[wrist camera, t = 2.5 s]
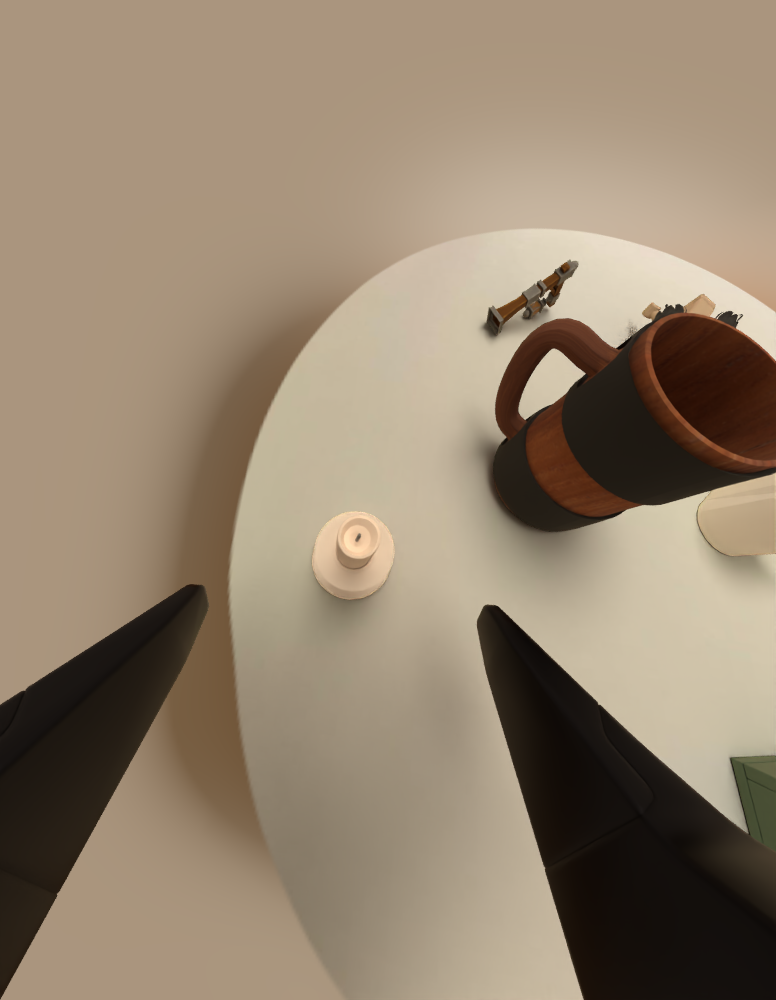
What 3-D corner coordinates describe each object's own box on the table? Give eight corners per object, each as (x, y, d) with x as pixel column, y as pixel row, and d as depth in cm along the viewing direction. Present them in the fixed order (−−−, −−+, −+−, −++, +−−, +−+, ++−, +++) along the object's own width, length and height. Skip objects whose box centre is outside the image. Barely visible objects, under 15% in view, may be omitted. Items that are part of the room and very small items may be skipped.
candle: (332, 614, 17) (314, 660, 8) (300, 539, 18) (246, 493, 8) (404, 576, 19) (469, 572, 9) (370, 508, 20) (396, 436, 10)
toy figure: (634, 298, 31) (604, 384, 26) (710, 235, 25) (691, 328, 20) (680, 338, 32) (660, 429, 26) (765, 285, 26) (761, 388, 21)
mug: (493, 389, 24) (618, 228, 13) (603, 480, 23) (838, 389, 12) (433, 452, 22) (525, 318, 11) (553, 557, 21) (795, 532, 10)
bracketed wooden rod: (566, 303, 27) (588, 261, 23) (493, 351, 29) (500, 320, 24) (555, 290, 28) (575, 246, 23) (483, 338, 29) (489, 305, 24)
